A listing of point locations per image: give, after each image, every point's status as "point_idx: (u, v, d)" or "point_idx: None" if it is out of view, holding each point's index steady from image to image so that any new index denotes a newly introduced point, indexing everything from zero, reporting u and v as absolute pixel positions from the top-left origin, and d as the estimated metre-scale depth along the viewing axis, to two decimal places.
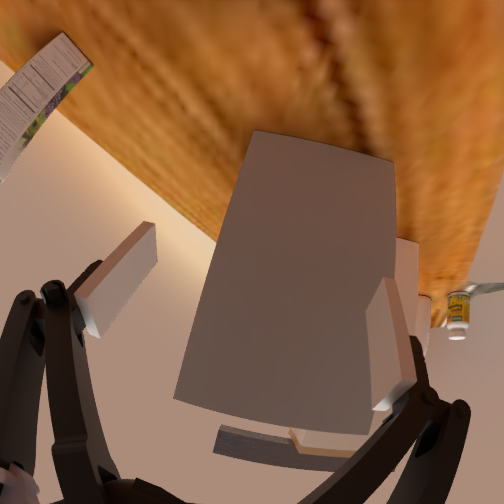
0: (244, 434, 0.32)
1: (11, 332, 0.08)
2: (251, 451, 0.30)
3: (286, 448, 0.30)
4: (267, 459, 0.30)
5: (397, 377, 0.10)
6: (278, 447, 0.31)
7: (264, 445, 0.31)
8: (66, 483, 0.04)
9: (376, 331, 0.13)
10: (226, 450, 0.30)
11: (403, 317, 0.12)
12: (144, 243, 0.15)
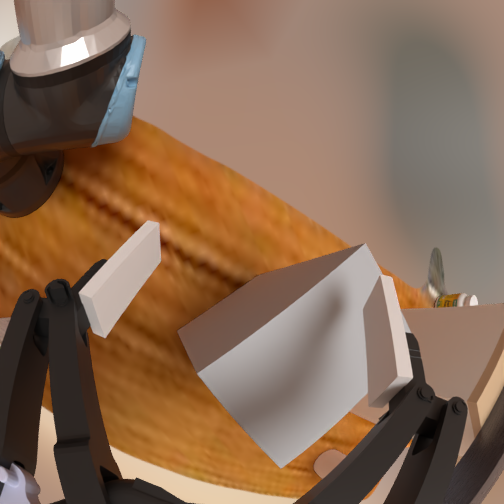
0: None
1: (14, 331, 0.08)
2: (462, 488, 0.10)
3: (481, 439, 0.13)
4: (488, 465, 0.10)
5: (393, 374, 0.10)
6: (474, 449, 0.12)
7: (462, 469, 0.12)
8: (68, 483, 0.04)
9: (372, 328, 0.13)
10: None
11: (399, 314, 0.12)
12: (148, 242, 0.15)
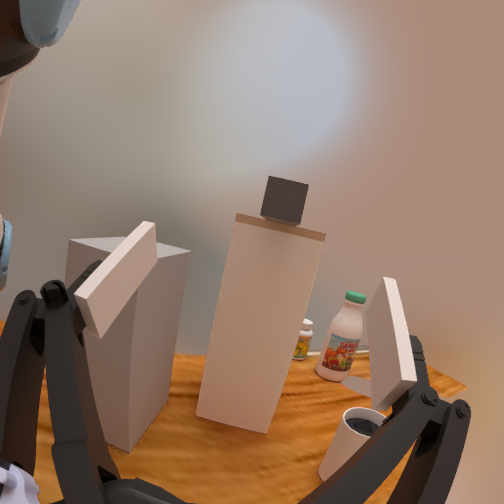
0: None
1: (11, 332, 0.08)
2: None
3: None
4: None
5: (397, 377, 0.10)
6: None
7: None
8: (66, 483, 0.04)
9: (376, 331, 0.13)
10: None
11: (403, 317, 0.12)
12: (144, 243, 0.15)
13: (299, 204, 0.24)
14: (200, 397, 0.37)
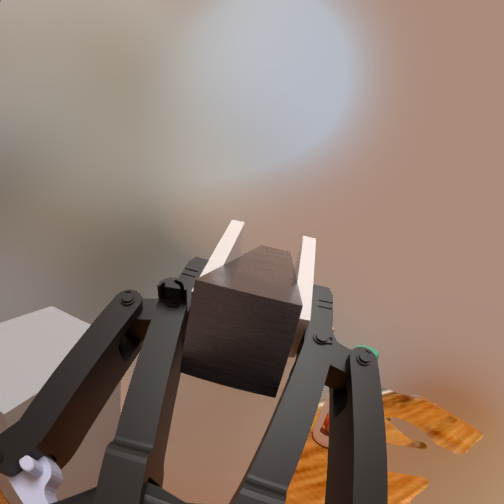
0: None
1: (100, 331, 0.09)
2: None
3: None
4: None
5: None
6: None
7: None
8: (106, 483, 0.05)
9: None
10: None
11: (312, 268, 0.14)
12: (238, 241, 0.16)
13: (275, 356, 0.09)
14: None
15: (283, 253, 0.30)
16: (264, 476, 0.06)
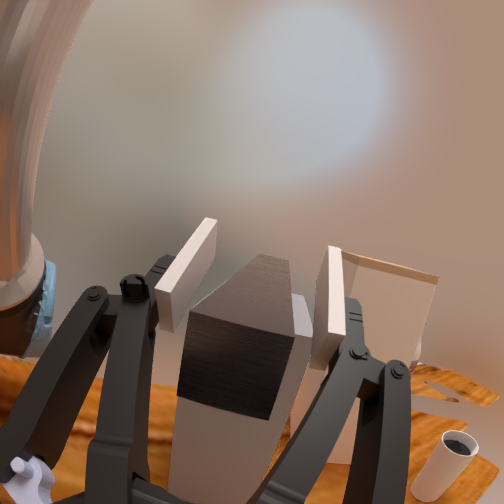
0: None
1: (71, 327, 0.09)
2: None
3: None
4: None
5: (326, 331, 0.11)
6: None
7: None
8: (93, 481, 0.05)
9: (319, 295, 0.15)
10: None
11: (341, 279, 0.14)
12: (209, 238, 0.16)
13: (268, 383, 0.09)
14: None
15: (281, 263, 0.30)
16: (285, 483, 0.06)
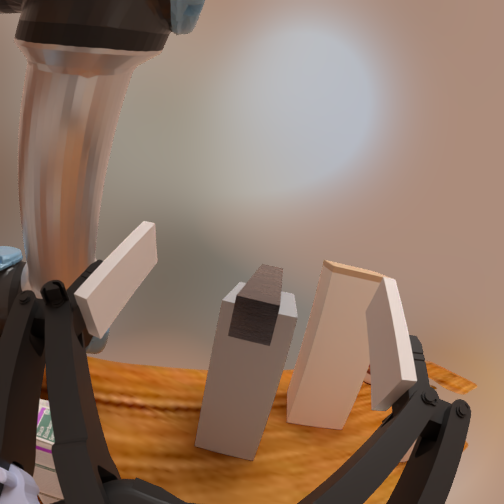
0: None
1: (11, 332, 0.08)
2: None
3: None
4: None
5: (397, 377, 0.10)
6: None
7: None
8: (66, 483, 0.04)
9: (376, 331, 0.13)
10: None
11: (403, 317, 0.12)
12: (144, 243, 0.15)
13: (269, 326, 0.22)
14: (293, 407, 0.46)
15: (277, 271, 0.43)
16: None
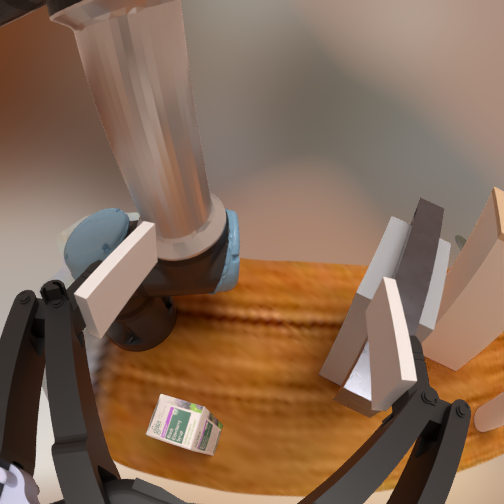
0: None
1: (11, 332, 0.08)
2: (364, 343, 0.21)
3: None
4: None
5: (397, 377, 0.10)
6: None
7: None
8: (66, 483, 0.04)
9: (376, 331, 0.13)
10: (351, 372, 0.19)
11: (403, 317, 0.12)
12: (144, 243, 0.15)
13: (372, 411, 0.17)
14: None
15: (434, 229, 0.28)
16: None
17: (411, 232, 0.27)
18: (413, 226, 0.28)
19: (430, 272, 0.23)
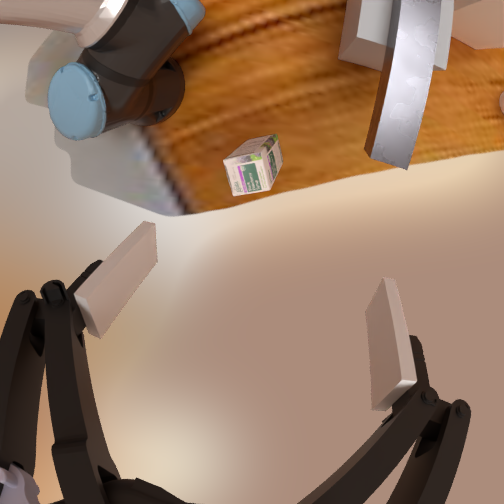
0: None
1: (11, 332, 0.08)
2: (379, 104, 0.20)
3: (385, 59, 0.19)
4: (387, 79, 0.18)
5: (397, 377, 0.10)
6: (383, 70, 0.19)
7: (379, 88, 0.20)
8: (66, 483, 0.04)
9: (376, 331, 0.13)
10: (373, 138, 0.21)
11: (403, 317, 0.12)
12: (144, 243, 0.15)
13: None
14: None
15: None
16: None
17: None
18: None
19: (437, 23, 0.13)
